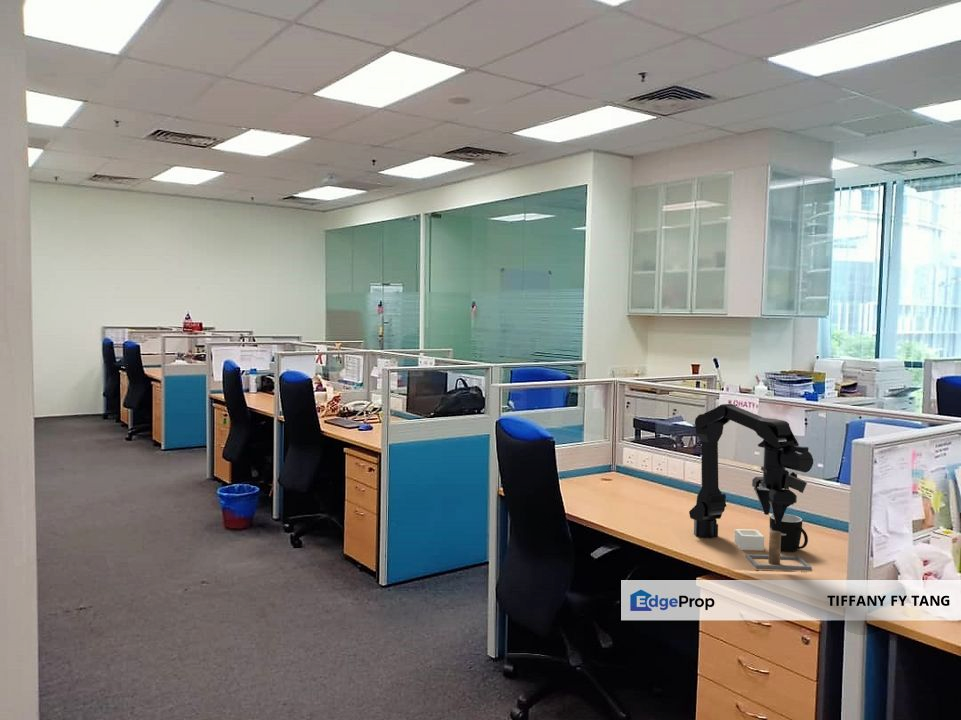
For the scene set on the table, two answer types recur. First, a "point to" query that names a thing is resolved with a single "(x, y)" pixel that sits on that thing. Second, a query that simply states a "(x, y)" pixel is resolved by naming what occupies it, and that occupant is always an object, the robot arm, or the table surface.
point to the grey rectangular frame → (805, 567)
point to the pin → (774, 547)
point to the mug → (789, 532)
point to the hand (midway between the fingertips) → (772, 519)
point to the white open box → (749, 539)
